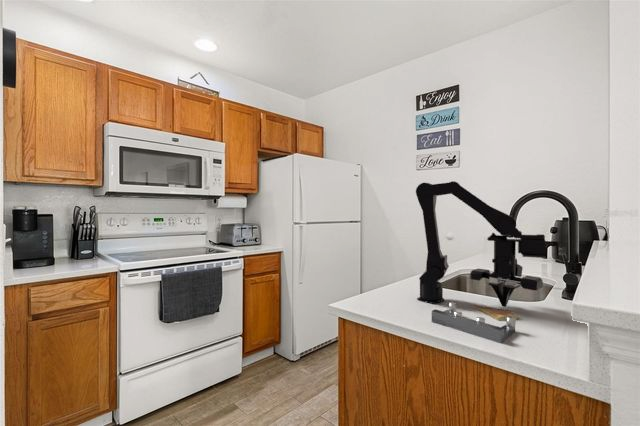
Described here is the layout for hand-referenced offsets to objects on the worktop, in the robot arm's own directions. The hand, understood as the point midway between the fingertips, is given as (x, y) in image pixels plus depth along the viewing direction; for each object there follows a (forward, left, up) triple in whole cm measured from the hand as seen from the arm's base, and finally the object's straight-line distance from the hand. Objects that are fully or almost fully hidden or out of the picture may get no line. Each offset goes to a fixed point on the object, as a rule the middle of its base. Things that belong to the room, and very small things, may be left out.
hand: (504, 306), depth 99 cm
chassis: (0, -20, -1) cm, 20 cm away
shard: (0, -7, -2) cm, 8 cm away
